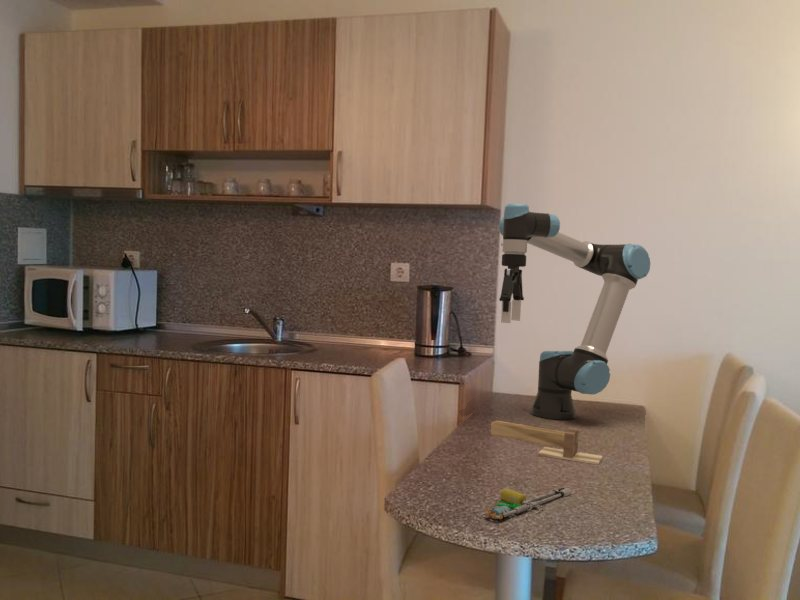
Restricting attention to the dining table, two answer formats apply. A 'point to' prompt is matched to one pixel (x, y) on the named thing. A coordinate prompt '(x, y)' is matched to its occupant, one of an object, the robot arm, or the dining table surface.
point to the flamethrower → (522, 502)
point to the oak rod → (528, 433)
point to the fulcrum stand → (571, 450)
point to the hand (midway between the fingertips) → (510, 321)
